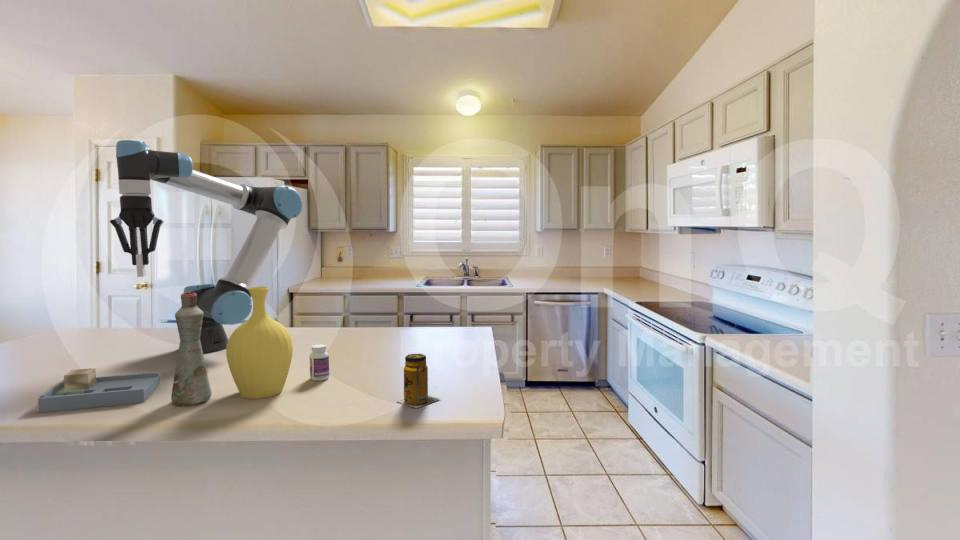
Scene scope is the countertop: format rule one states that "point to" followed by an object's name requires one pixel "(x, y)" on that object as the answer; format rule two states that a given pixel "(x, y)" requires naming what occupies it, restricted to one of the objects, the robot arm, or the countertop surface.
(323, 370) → the pill bottle
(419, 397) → the condiment
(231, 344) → the vase
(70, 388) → the block
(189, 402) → the bottle
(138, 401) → the blue gray tray
